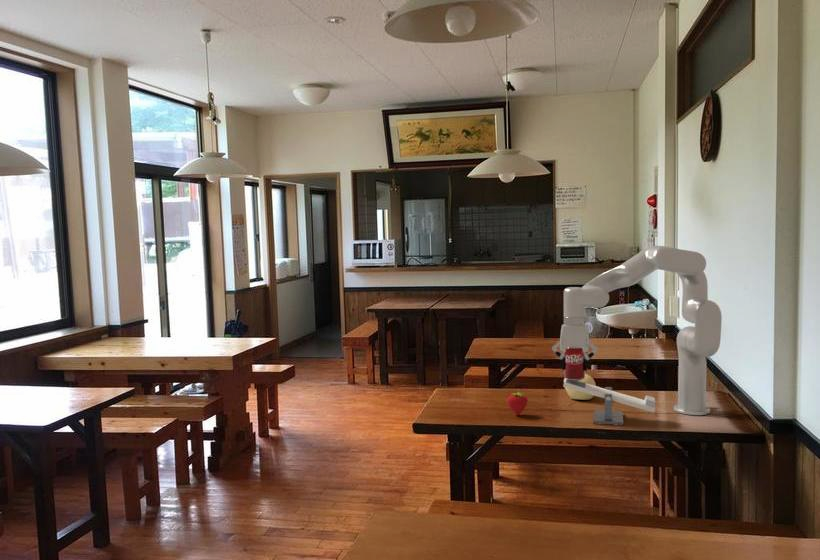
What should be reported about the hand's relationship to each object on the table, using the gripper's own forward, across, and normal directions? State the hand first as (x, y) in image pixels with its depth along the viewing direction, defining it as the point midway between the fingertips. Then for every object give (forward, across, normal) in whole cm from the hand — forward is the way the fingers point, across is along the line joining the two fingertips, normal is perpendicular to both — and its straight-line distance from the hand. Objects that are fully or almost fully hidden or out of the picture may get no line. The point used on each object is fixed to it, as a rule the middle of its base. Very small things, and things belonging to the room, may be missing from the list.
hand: (574, 369), depth 245 cm
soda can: (+4, 0, 0) cm, 4 cm away
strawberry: (+18, +21, +2) cm, 27 cm away
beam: (+9, -12, 0) cm, 15 cm away
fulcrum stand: (+18, -12, 0) cm, 21 cm away
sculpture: (+18, -1, -27) cm, 32 cm away
